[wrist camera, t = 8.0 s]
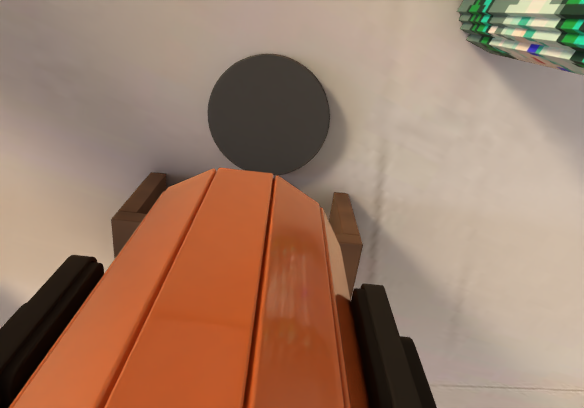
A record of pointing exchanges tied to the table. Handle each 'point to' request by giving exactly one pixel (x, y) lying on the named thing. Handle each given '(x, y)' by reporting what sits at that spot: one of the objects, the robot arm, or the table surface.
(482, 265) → the table surface
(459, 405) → the table surface
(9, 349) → the robot arm
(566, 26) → the can
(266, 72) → the coaster
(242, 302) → the cup
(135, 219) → the shelf
